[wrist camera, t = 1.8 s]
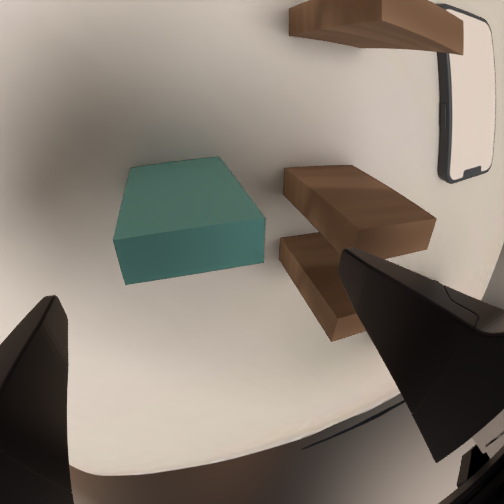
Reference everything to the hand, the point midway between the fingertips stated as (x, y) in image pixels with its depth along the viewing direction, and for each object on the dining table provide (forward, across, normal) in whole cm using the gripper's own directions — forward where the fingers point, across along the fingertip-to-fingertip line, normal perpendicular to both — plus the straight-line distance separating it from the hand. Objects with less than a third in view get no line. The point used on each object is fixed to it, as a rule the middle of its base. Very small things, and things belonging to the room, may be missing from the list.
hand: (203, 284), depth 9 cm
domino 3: (+10, -9, +1) cm, 13 cm away
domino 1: (+10, 0, 0) cm, 10 cm away
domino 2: (+10, -9, -9) cm, 16 cm away
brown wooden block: (+10, -9, +6) cm, 14 cm away
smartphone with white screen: (+10, -24, -7) cm, 27 cm away
